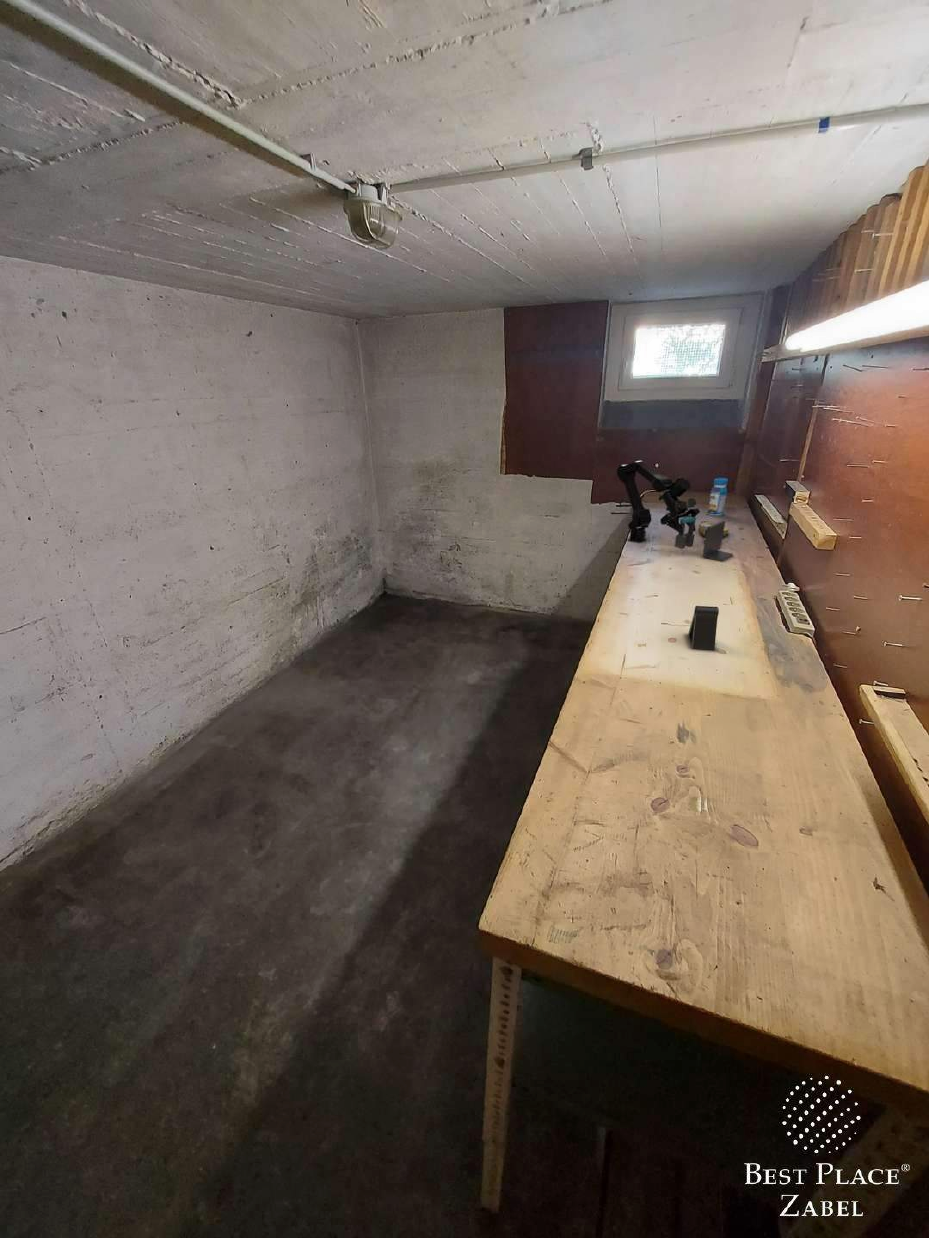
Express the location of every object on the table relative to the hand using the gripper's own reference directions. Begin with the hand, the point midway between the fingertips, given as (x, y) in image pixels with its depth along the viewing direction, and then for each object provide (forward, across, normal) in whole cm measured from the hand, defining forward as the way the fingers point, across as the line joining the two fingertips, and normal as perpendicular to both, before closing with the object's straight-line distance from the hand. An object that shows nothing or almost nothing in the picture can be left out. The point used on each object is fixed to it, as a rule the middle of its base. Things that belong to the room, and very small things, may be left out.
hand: (688, 532), depth 214 cm
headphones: (+4, 0, +6) cm, 7 cm away
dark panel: (+12, +10, +4) cm, 16 cm away
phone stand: (+50, -59, -35) cm, 85 cm away
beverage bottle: (-22, +71, +38) cm, 84 cm away
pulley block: (-1, +33, +17) cm, 37 cm away
